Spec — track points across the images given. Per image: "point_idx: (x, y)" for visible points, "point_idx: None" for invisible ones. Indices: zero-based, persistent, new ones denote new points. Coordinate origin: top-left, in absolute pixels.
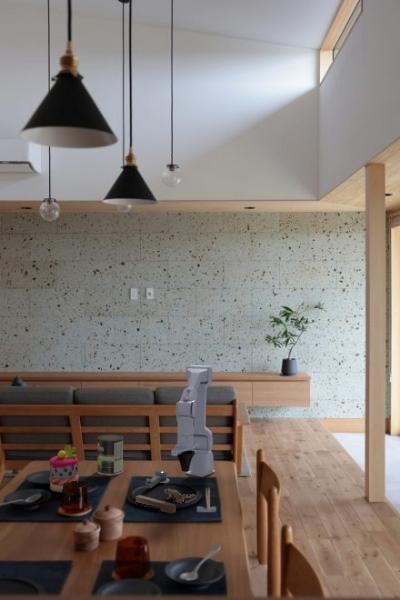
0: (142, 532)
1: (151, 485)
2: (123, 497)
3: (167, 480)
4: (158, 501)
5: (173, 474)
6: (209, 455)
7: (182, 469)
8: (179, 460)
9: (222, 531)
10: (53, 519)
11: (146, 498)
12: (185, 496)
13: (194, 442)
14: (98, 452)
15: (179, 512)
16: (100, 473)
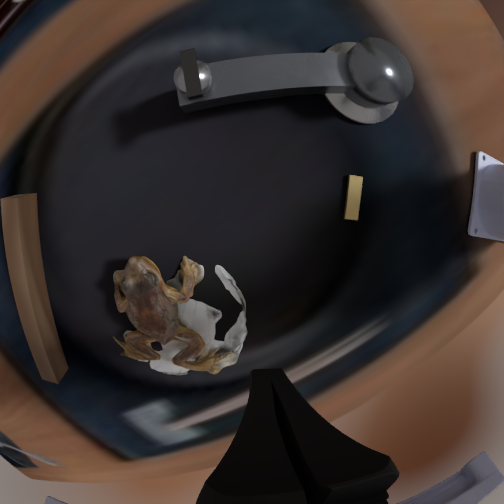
0: None
1: (197, 107)
2: (49, 91)
3: (374, 113)
4: (27, 319)
5: (452, 102)
6: None
7: (250, 385)
8: (233, 439)
9: (93, 466)
10: None
11: (12, 255)
12: (174, 358)
13: (495, 483)
14: None
15: (76, 378)
16: None
